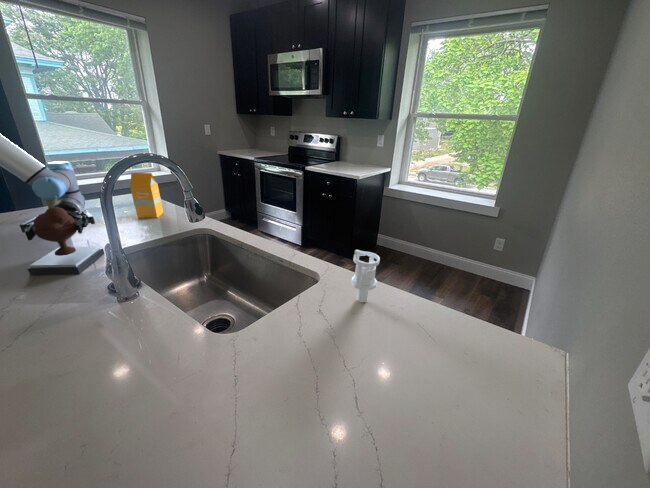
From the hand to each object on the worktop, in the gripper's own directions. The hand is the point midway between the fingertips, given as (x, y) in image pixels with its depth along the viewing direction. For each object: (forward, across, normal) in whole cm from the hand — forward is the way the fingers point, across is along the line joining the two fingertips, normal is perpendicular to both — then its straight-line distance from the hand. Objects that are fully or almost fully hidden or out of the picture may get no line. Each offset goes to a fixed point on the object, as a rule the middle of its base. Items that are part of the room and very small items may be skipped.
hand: (54, 232), depth 90 cm
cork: (-59, +12, -13) cm, 62 cm away
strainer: (+57, -75, -13) cm, 95 cm away
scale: (-4, 0, -13) cm, 13 cm away
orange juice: (-45, -25, -13) cm, 53 cm away
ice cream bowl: (-4, 0, -8) cm, 9 cm away
